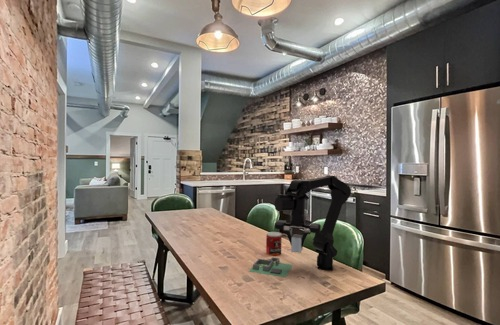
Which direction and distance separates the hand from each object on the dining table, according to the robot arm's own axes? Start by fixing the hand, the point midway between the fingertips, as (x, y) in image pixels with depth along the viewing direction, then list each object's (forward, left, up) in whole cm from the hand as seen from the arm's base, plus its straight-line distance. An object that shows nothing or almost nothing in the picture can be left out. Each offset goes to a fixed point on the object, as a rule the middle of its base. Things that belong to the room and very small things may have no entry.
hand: (297, 246), depth 119 cm
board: (+11, 0, -12) cm, 16 cm away
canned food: (+15, -19, -12) cm, 27 cm away
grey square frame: (+14, +1, -11) cm, 18 cm away
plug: (0, 0, -2) cm, 2 cm away
